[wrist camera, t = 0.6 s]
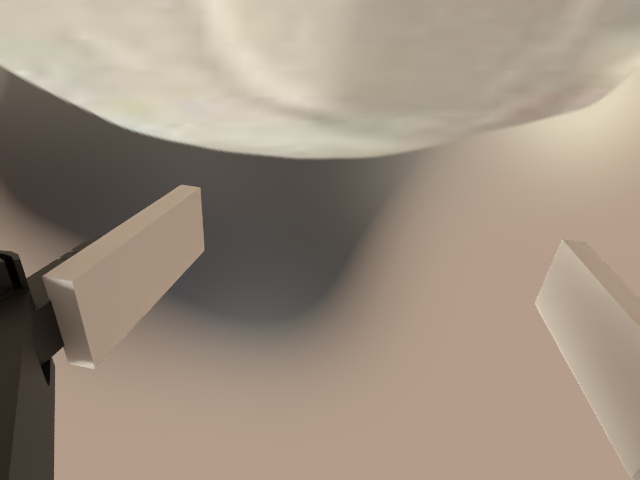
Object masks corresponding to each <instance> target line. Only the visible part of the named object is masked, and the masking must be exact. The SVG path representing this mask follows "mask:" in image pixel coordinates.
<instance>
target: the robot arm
mask: <svg viewBox="0 0 640 480" xmlns="http://www.w3.org/2000/svg"><path fill="white" fill-rule="evenodd" d="M203 251H204V237H203V221H202V206H201V192H200V187H194V186H186V185H181V186H179V187H177V188H176V189H174V190H173V191H171V192H170V193H168V194H167V195H165V196H164V197H162V198H161V199H159V200H157V201H156V202H154V203H153V204H151V205H150V206H148V207H147V208H145V209H144V210H142V211H141V212H139V213H138V214H136V215H135V216H133V217H131V218H130V219H129V220H127V221H126V222H124V223H122V224H121V225H120V226H118V227H116V228H115V229H113V230H112V231H110V232H109V233H107V234H106V235H104V236H100V237H97V238H94V239H91V240H89V241H86V242H83V243H82V244H80V245H79V246H77V247H75V248H74V249H72V250H71V252H70V253H69V252H68V253H66V254H64V255H63V256H61V257H60V259H59V260H58V259H57V260H55V261H53V262H52V263H50V264H49V265H47V266H46V267H44V268H42V269H41V270H39V271H38V272H36V273H34V274H33V275H31V276H30V277H28V278H27V279H26V276H25V273H24V270H23V267H22V264H21V261H20V258H19V256H18V254H16V253H13V252H11V251H0V480H54V415H55V414H54V413H55V365H54V362H53V359H52V356H53V355H54V354H56V352H58V351H59V350H60V349H61V348H62V347H64V350H65V354H66V357H67V360H68V363H69V364H74V365H79V366H84V367H89V368H93V369H95V368H96V367H97V366H98V365H99V364H100V363H101V362H102V361H103V359H104V358H105V357H106V356H107V355H108V354H109V353H110V352H111V351H112V350H113V349H114V347H116V345H117V344H118V343H119V342H120V341H121V340H122V339H123V338H124V337H125V336H126V335H127V334H128V332H129V331H130V330H131V329H132V328H133V327H134V326H135V325H136V324H137V323H138V322H139V321H140V319H141V318H142V317H143V316H144V315H145V314H146V313H147V312H148V311H149V310H150V309H151V307H152V306H153V305H154V304H155V303H156V302H157V301H158V300H159V299H160V298H161V297H162V296H163V295H164V293H165V292H166V291H167V290H168V289H169V288H170V287H171V286H172V285H173V284H174V283H175V281H176V280H177V279H178V278H179V277H180V276H181V275H182V274H183V273H184V272H185V271H186V270H187V269H188V267H189V266H190V265H191V264H192V263H193V262H194V261H195V260H196V259H197V258H198V257H199V256H200V255H201V253H202V252H203ZM535 305H536V307H537V309H538V311H539V313H540V315H541V316H542V318H543V320H544V322H545V324H546V326H547V327H548V329H549V331H550V333H551V335H552V336H553V338H554V340H555V342H556V344H557V345H558V347H559V349H560V351H561V353H562V354H563V357H564V358H565V360H566V362H567V364H568V366H569V367H570V369H571V371H572V373H573V375H574V376H575V378H576V380H577V382H578V383H579V386H580V388H581V389H582V391H583V393H584V395H585V397H586V398H587V400H588V402H589V404H590V406H591V407H592V409H593V411H594V413H595V415H596V417H597V418H598V420H599V422H600V424H601V426H602V428H603V429H604V431H605V433H606V435H607V437H608V438H609V440H610V442H611V444H612V446H613V448H614V449H615V451H616V453H617V455H618V457H619V459H620V460H621V462H622V464H623V466H624V468H625V470H626V471H627V473H628V475H629V477H630V479H634V480H640V298H639V297H638V296H637V295H636V294H635V293H634V292H633V290H631V288H630V287H629V286H628V285H627V284H626V283H625V282H624V281H623V280H622V279H621V278H620V277H619V276H618V275H617V274H616V273H615V272H614V271H613V270H612V269H611V268H610V267H609V266H608V265H607V264H606V263H605V262H604V261H603V260H602V259H601V258H600V257H599V256H598V255H597V254H596V253H595V252H594V251H593V250H592V249H591V247H589V246H588V245H587V244H586V243H585V242H577V241H571V240H564V239H562V241H561V243H560V246H559V248H558V250H557V252H556V255H555V257H554V259H553V262H552V264H551V267H550V269H549V271H548V274H547V276H546V278H545V281H544V283H543V285H542V288H541V290H540V292H539V295H538V297H537V300H536V302H535Z"/></svg>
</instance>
